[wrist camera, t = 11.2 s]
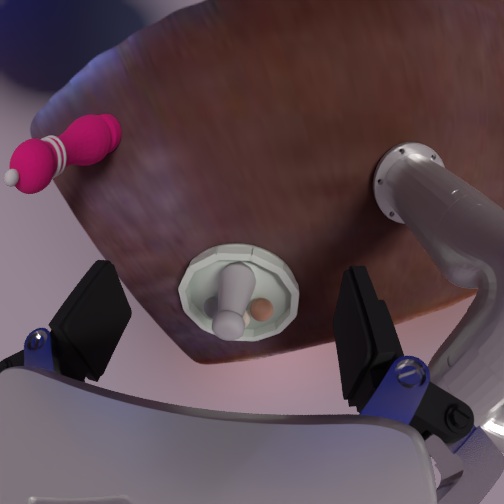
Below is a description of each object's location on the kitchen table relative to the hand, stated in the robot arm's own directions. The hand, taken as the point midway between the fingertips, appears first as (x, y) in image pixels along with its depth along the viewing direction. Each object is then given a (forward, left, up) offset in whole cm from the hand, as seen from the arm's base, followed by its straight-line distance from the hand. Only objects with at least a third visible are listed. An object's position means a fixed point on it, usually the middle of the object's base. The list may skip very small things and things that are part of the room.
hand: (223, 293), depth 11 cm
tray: (+4, +25, -28) cm, 38 cm away
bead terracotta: (0, +28, -26) cm, 38 cm away
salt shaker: (+4, +20, -28) cm, 34 cm away
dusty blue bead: (+8, +28, -26) cm, 39 cm away
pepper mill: (+23, -4, -28) cm, 37 cm away
